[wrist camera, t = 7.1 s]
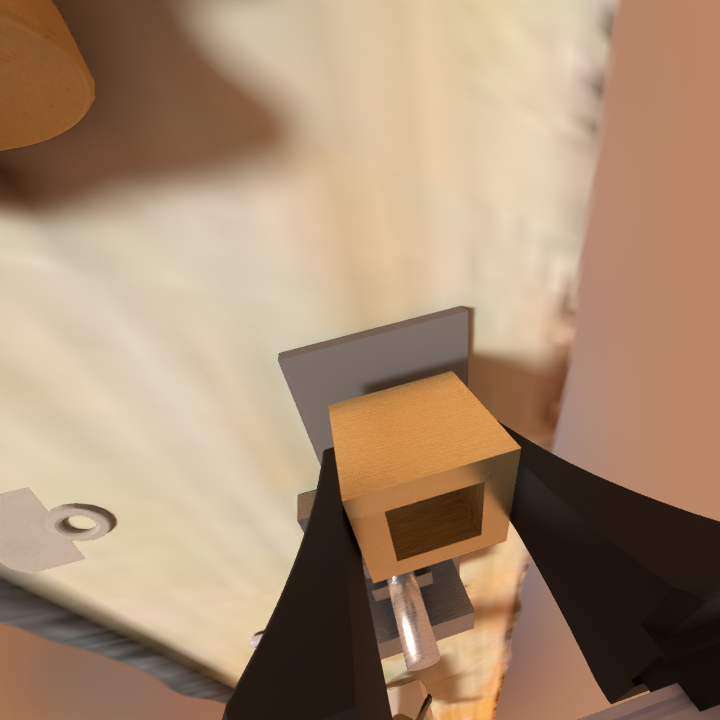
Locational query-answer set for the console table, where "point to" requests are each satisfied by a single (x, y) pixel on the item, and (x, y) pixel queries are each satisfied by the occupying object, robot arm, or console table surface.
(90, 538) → the mounting bracket
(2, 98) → the kendama
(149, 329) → the console table surface
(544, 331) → the console table surface
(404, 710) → the wood carving
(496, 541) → the wooden hollow block
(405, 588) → the gray fixture base
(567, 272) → the console table surface
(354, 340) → the rubber mat
